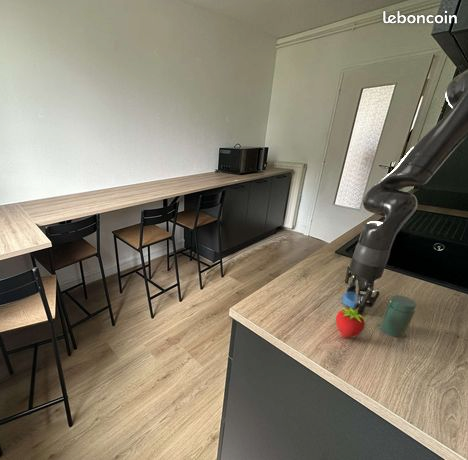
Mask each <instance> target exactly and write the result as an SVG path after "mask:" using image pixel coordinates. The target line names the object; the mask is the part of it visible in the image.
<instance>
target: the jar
mask: <svg viewBox="0 0 468 460" xmlns="http://www.w3.org/2000/svg"><path fill="white" fill-rule="evenodd" d="M416 307H417V302H416V301H414V300H413V299H412V298H409V297H407V296H404V295H401V294H400V295H398V294H396V295H392V296H391V298H390V301H389V302H388V304H387V305H386V308H385V311H384V314H383V316H382V319H381V322H380V324H379V329H380V330H381V331H382V332H383V333H384V334H386V335H387V336H389V337H392V338H396V339H403V338H404V337H405V335H406V333H407V331H408V329H409V326H410V324H411V323H412V320H413V318H414V315H415V313H416V310H415V309H416Z"/></svg>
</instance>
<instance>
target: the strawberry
mask: <svg viewBox="0 0 468 460" xmlns="http://www.w3.org/2000/svg"><path fill="white" fill-rule="evenodd" d="M358 309H359V308H358ZM357 312H358V310H357V309H356V311H355V310H354V309H353V308H350V307H348V308H344V307H342V309H340V310H339V311H338V312H337V314H336V315H335V323H336V326H337V330H338V332H339V333H340V335H341V337H342V338H344V339H348V338H353V337H357V336H358V335H360V334H361V333H362V332H363V331H364V328H365V320H367V318H366V317H365V316H363V315H362V314H359V313H357Z"/></svg>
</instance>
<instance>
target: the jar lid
mask: <svg viewBox="0 0 468 460" xmlns="http://www.w3.org/2000/svg"><path fill="white" fill-rule="evenodd" d="M363 297H364V296H362V297H361V300H362V299H363ZM341 301H342V303H343V304H344V305H345V306H346V307H348V308H349V307H350V308H351V309H352V310H354V308H355V305H356V302H357V295H356V292H351V291H347V290H346V291H345V292H344V293H343V294H342V297H341Z"/></svg>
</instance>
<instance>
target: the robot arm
mask: <svg viewBox="0 0 468 460" xmlns="http://www.w3.org/2000/svg"><path fill="white" fill-rule="evenodd" d="M445 98H446V102H448V105H449V106H450V107H451V109H450V110H449V111H448V112H447V114H446V115H444V117H443V118H442V119H441V120H439V121H438V123H436V124H435V125H434V126H433V127H432V128H431V129H430V130H429V131H428V132H426V134H424V135H423V136H422V137H421V138H420V139H419V140H418V141H417V142H416V143H415V144H414V145H413V146H412V147H411V148H410V150H409V151H408V152H407V153H406V155H404V157H403V158H402V159H401V161H400V162H399V163H398V165H397V166H396V167H395V168H394V169H393V170H392V171H391V172H390V173H388V174H387V175H385V177H384V178H382V179H381V180H379V181H378V182H377V183H376V184H374V185H373V186H372V187H371V188H370V189H368V191H367V192H366V193H365V195H364V196H363V200H362V206H363V208H364V210H366V211H367V212H369V213H372V214H375V215H378V216H381V217H384V220H383V221H368V222H366V223H364V225H363V226H362V229H361V233H360V236H359V239H358V242H357V244H356V246H355V249H354V250H353V254H352V257H351V261H350V264H349V265H348V266H347V268H346V273H345V278H344V284H346V289H347V290H346V292H347V291H351V292H356V295H357V302H356V305H355V308H354V309H353V311H354V310H355V311H356V309H357V310H358V312H357V313H359V314H360V315H363V314H364V312H365V309H366V308H373V306H375V303H376V301H377V300H378V298H379V296H380V291H379V290H376V289H375V288H374V287H375V281H377V280H379V279H380V278H382V276H383V274H384V271H385V269H386V266H387V264H388V261H389V258H390V256H391V249H392V247H393V245H394V242H395V239H396V237H397V234H399V232H400V230H401V229H402V228H403V227H404V226H405V224H406V223H407V222H408V220H409V219H410V218H411V217H412V216H413V215H414V214H415V212H416V210H417V208H418V199H417V197H416V195H415V194H413V193H411V192H407V191H403V190H402V189H403V188H408V187H422V186H424V185H425V184H427V183H428V182H429V181H430V180H431V178H432V177H433V176H434V175H435V174H436V173H437V171H438V170H439V169H440V167H441V166H442V165H444V163H445V161H446V160H448V158H449V157H450V155H452V153H453V152H454V151H455V150H456V149H457V148H458V146H459V145H460V144H461V143H462V142H463V141H464V140H465V139H466V138H467V137H468V69H466V70H465V71H463V72H461V73H460V74H458V75H457V76H455V77H454V78H452V79H451V80H450V82H449V83H448V84H447V87H446V89H445ZM362 296H364V297H363V299H362V300H361V297H362ZM358 308H359V309H358Z"/></svg>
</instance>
